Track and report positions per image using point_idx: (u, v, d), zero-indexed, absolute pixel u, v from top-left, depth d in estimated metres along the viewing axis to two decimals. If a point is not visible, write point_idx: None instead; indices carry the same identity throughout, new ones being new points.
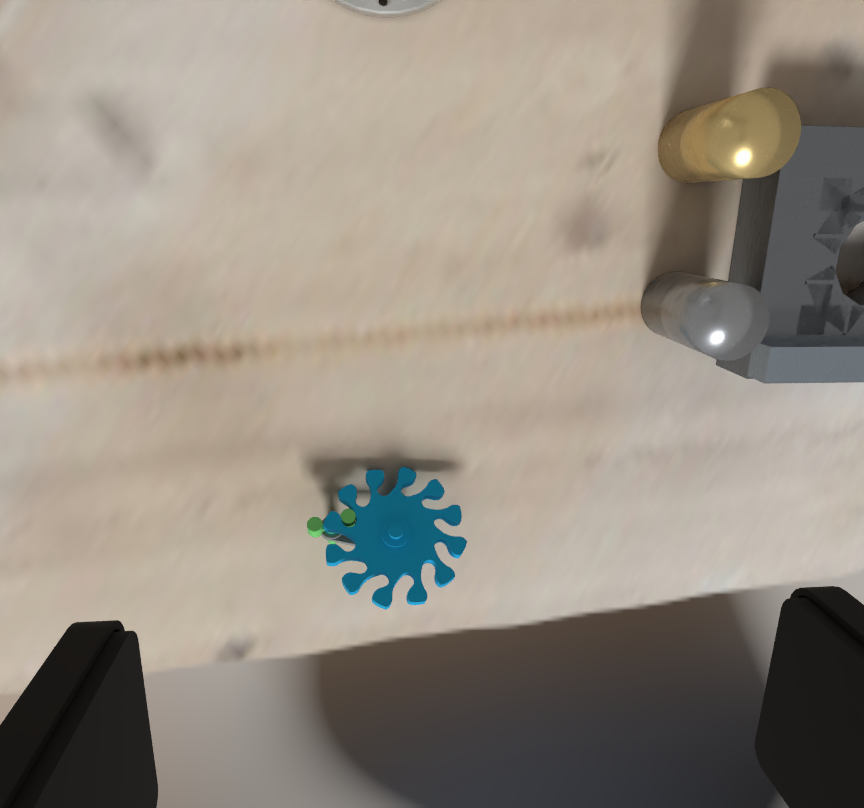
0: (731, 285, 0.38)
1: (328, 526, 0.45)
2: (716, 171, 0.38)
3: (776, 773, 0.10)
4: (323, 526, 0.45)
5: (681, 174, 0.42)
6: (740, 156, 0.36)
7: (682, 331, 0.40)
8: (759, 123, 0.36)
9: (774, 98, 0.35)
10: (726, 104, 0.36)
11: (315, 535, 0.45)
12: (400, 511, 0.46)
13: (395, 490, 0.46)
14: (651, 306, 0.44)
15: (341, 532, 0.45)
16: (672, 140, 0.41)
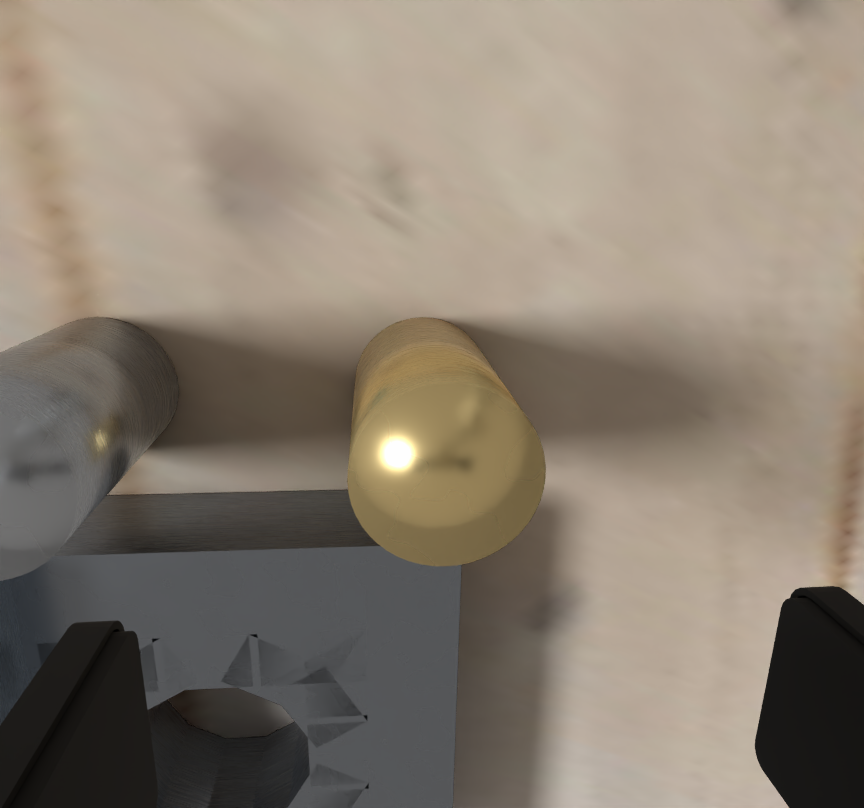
0: (69, 469, 0.14)
1: None
2: (365, 402, 0.16)
3: (776, 773, 0.10)
4: None
5: (367, 359, 0.20)
6: (396, 437, 0.15)
7: None
8: (469, 470, 0.15)
9: (523, 494, 0.15)
10: (509, 395, 0.16)
11: None
12: None
13: None
14: (76, 328, 0.19)
15: None
16: (432, 329, 0.20)
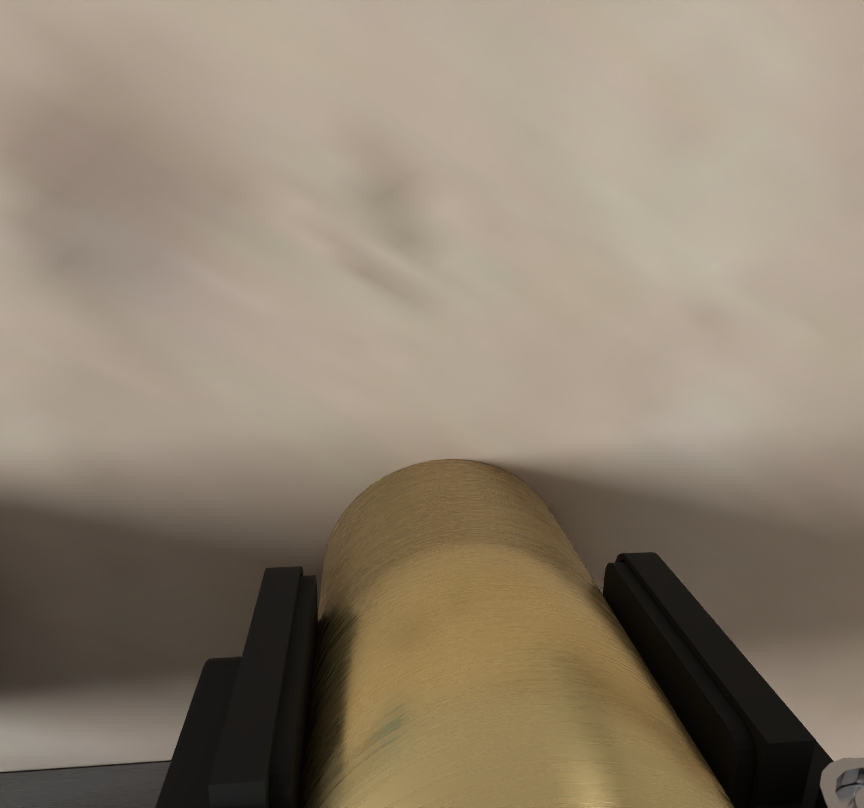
0: None
1: None
2: None
3: None
4: None
5: (341, 566, 0.10)
6: None
7: None
8: None
9: None
10: None
11: None
12: None
13: None
14: None
15: None
16: (474, 509, 0.10)
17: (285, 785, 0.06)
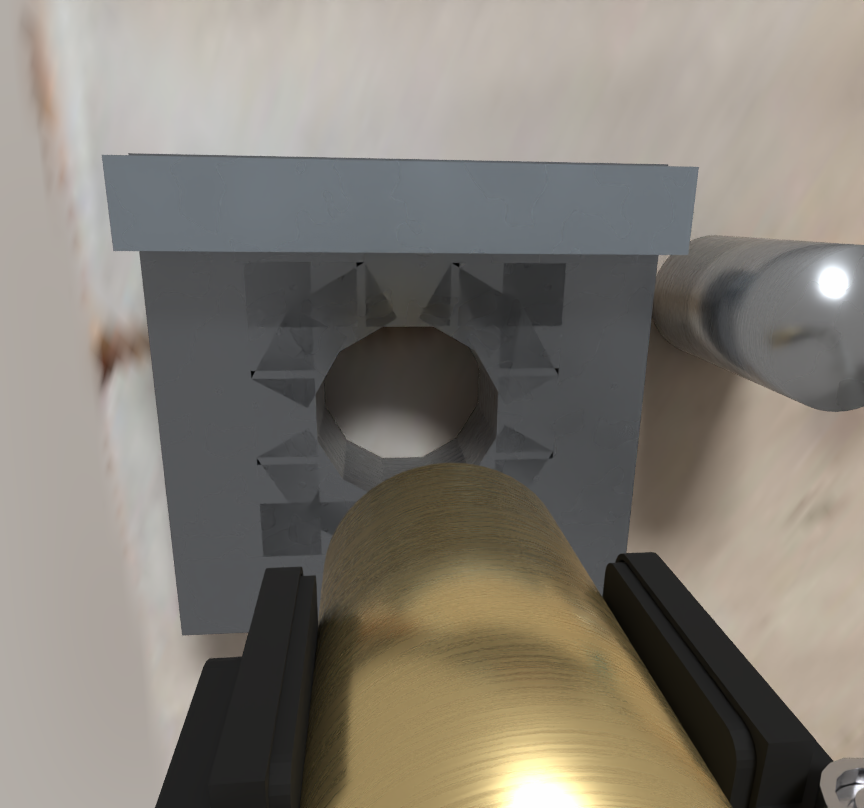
0: (848, 408, 0.19)
1: None
2: None
3: None
4: None
5: (342, 571, 0.10)
6: None
7: None
8: None
9: None
10: None
11: None
12: None
13: None
14: None
15: None
16: (475, 514, 0.10)
17: (285, 786, 0.06)
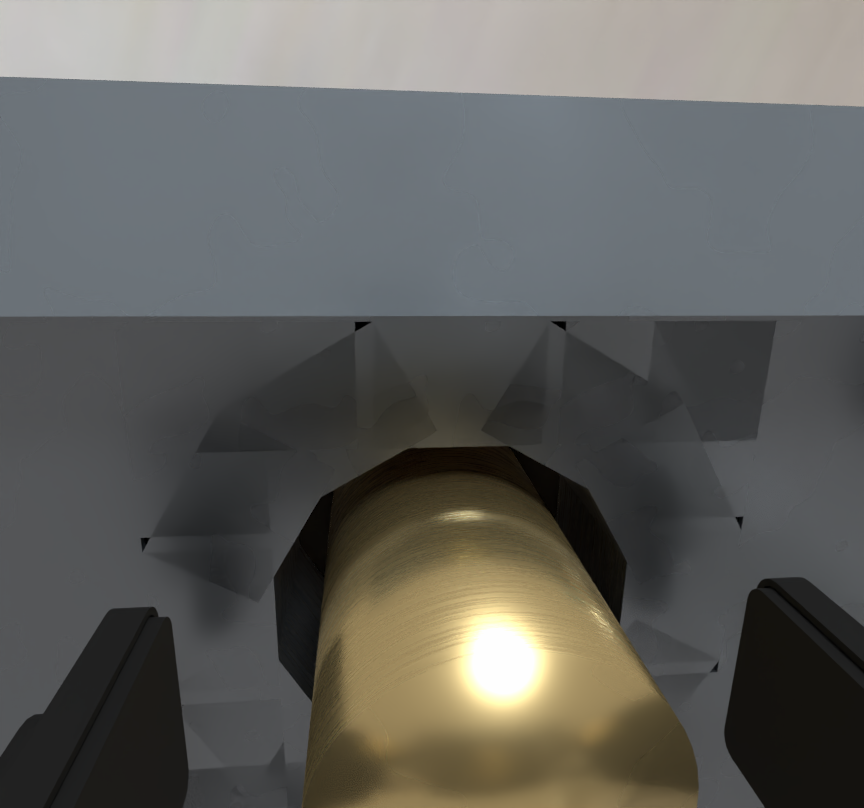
0: None
1: None
2: (340, 634, 0.09)
3: (743, 760, 0.10)
4: None
5: (347, 494, 0.13)
6: (400, 756, 0.07)
7: None
8: (549, 805, 0.07)
9: None
10: (616, 632, 0.08)
11: None
12: None
13: None
14: None
15: None
16: (452, 449, 0.12)
17: None
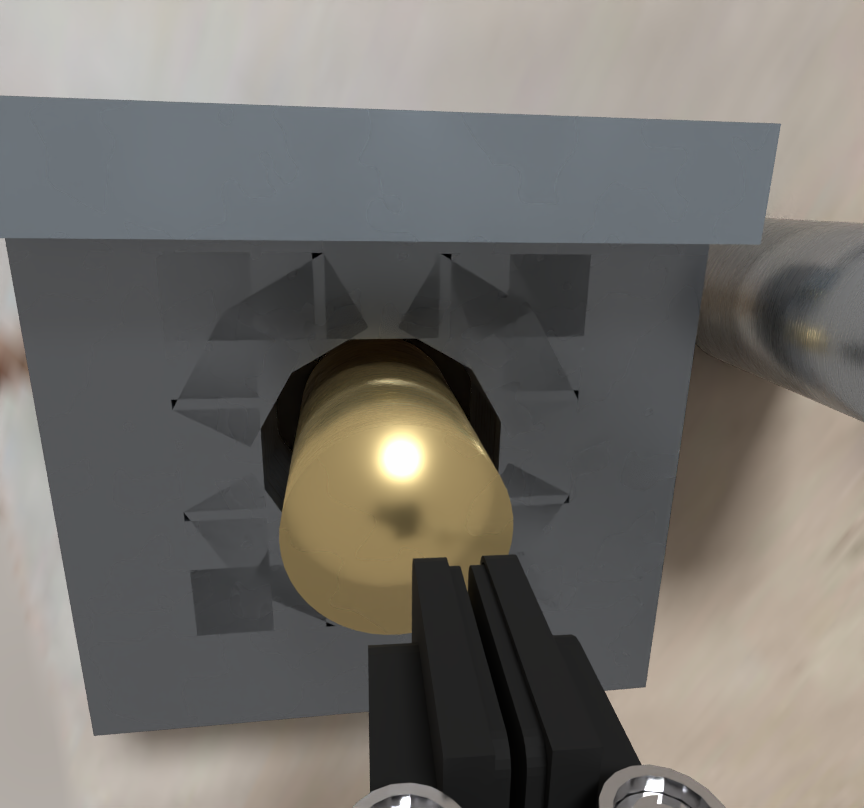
0: None
1: None
2: (302, 443, 0.14)
3: None
4: None
5: (312, 385, 0.18)
6: (336, 489, 0.12)
7: None
8: (424, 525, 0.13)
9: (487, 550, 0.13)
10: (470, 434, 0.13)
11: None
12: None
13: None
14: None
15: None
16: (385, 351, 0.18)
17: (503, 760, 0.07)
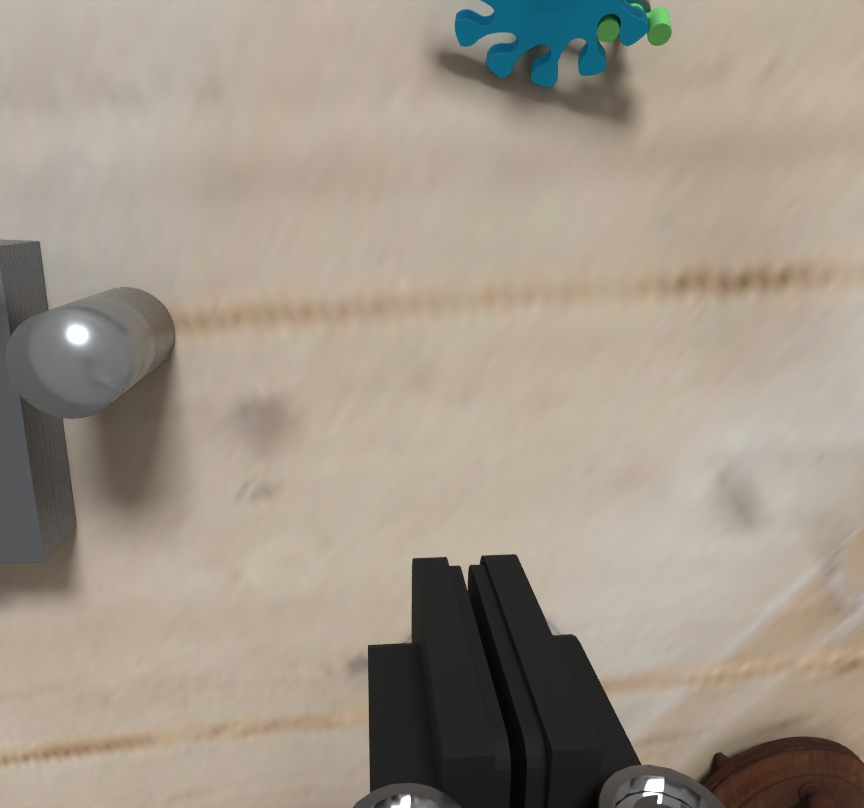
0: (81, 416, 0.28)
1: (642, 25, 0.29)
2: None
3: None
4: (648, 25, 0.30)
5: None
6: None
7: (131, 339, 0.29)
8: None
9: None
10: None
11: (663, 12, 0.30)
12: (531, 13, 0.30)
13: (525, 47, 0.31)
14: (165, 340, 0.33)
15: (627, 6, 0.29)
16: None
17: (504, 760, 0.07)
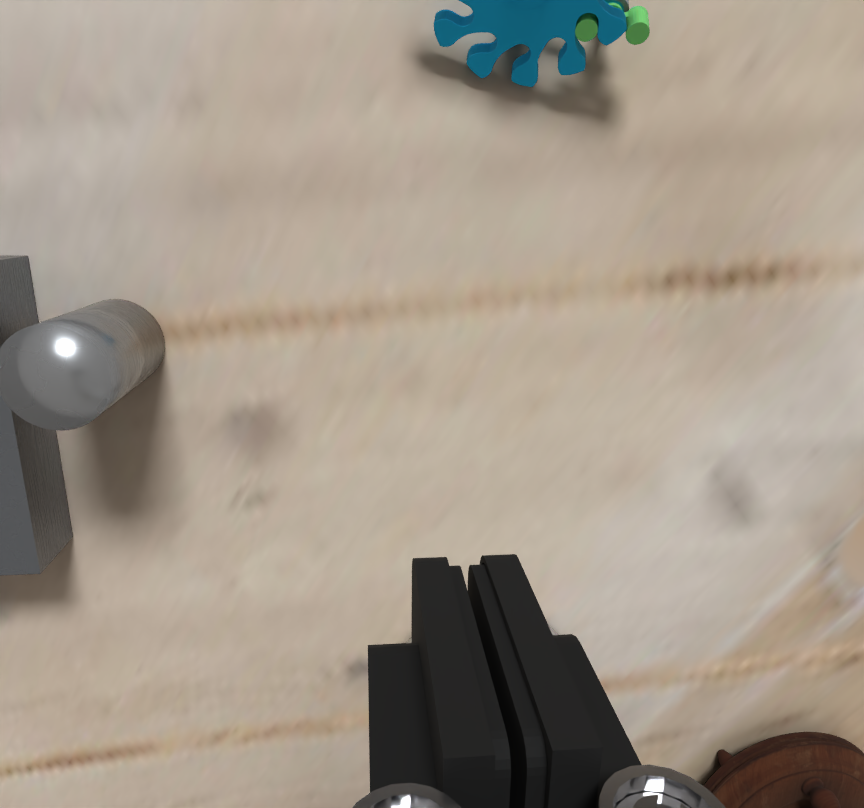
0: (70, 428, 0.28)
1: (620, 24, 0.30)
2: None
3: None
4: (626, 24, 0.30)
5: None
6: None
7: (119, 350, 0.29)
8: None
9: None
10: None
11: (641, 11, 0.30)
12: (509, 13, 0.30)
13: (504, 47, 0.31)
14: (154, 350, 0.34)
15: (605, 5, 0.29)
16: None
17: (504, 760, 0.07)
